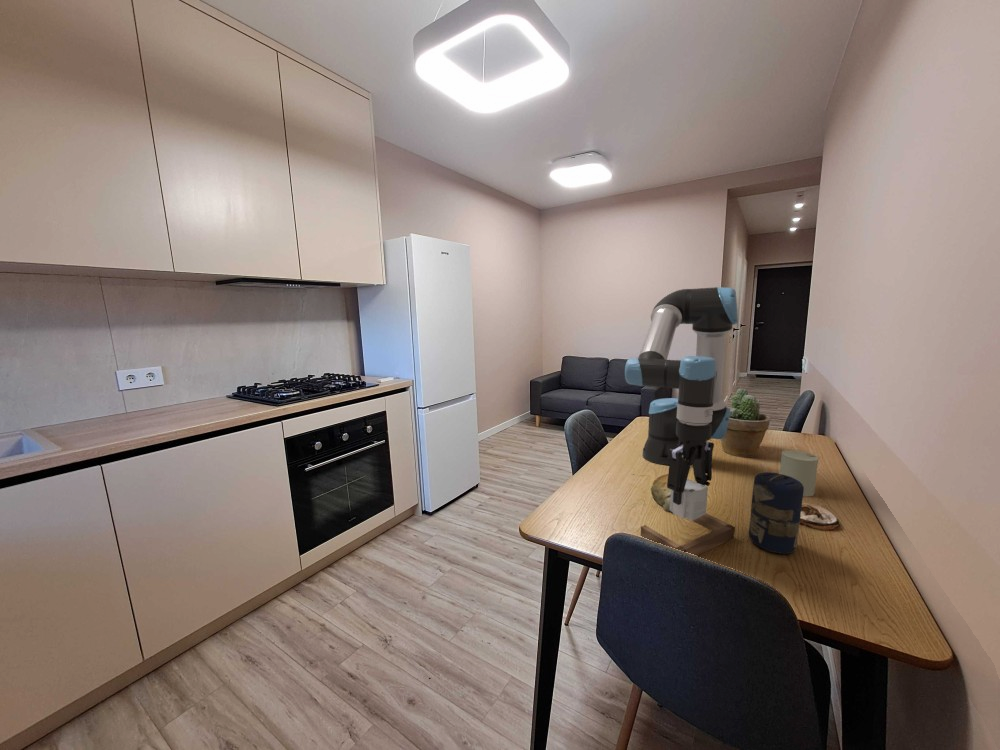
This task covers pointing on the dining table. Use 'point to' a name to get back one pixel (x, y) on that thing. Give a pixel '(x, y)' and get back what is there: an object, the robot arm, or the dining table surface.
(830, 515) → the sushi roll
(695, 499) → the skincare box
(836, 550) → the dining table surface
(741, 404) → the potted plant
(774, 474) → the canister
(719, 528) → the bay
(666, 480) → the pastry
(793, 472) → the can
